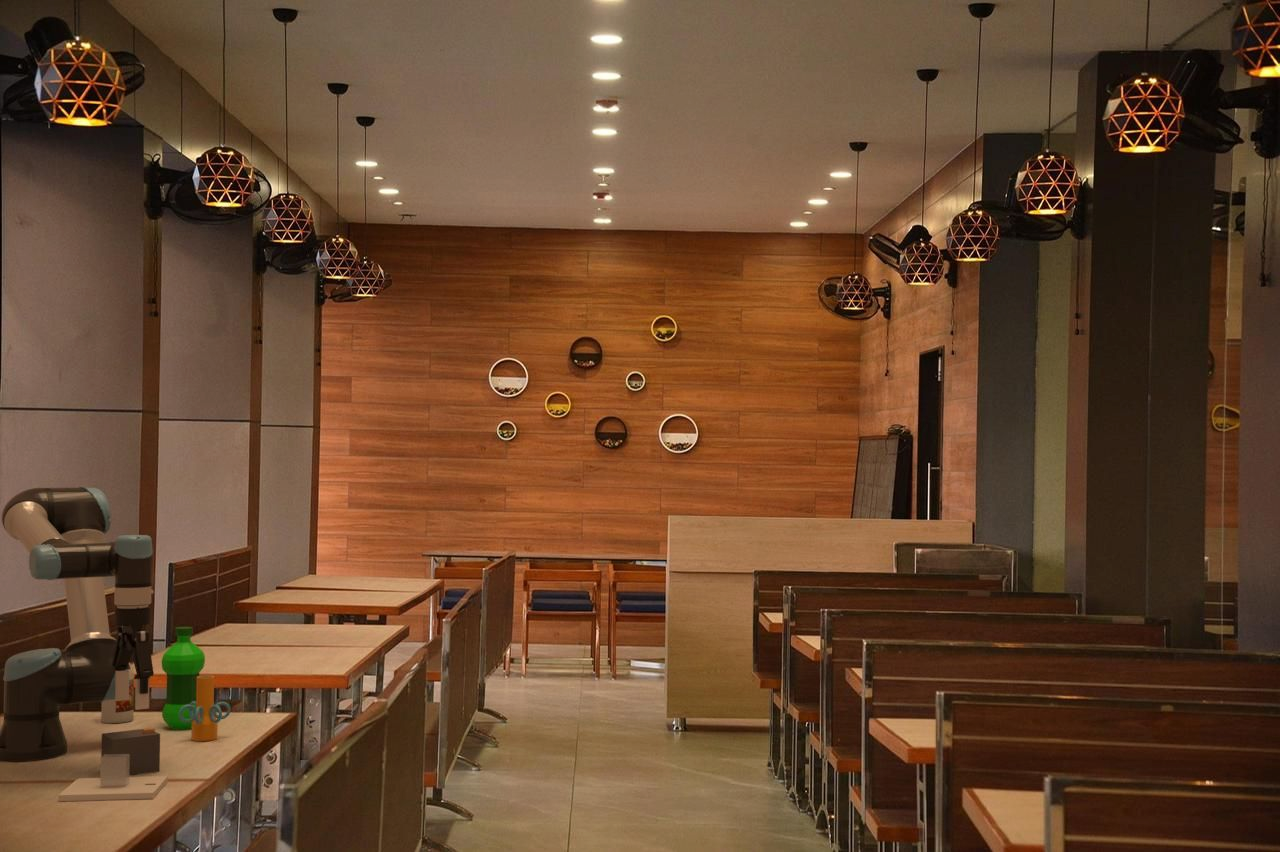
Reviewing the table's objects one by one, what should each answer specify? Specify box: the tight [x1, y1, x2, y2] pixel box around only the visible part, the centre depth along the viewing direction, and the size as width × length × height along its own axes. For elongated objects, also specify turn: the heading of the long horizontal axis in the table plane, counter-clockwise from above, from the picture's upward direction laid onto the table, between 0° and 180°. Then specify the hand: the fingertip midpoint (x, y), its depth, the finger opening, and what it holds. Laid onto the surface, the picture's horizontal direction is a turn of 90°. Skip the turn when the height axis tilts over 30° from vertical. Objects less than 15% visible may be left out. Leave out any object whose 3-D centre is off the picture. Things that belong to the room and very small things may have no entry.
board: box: [57, 754, 169, 802], centre depth 273 cm, size 18×14×7 cm
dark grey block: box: [100, 727, 161, 776], centre depth 290 cm, size 10×8×9 cm
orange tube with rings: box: [179, 675, 231, 742], centre depth 324 cm, size 12×10×15 cm
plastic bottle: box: [161, 626, 206, 730], centre depth 337 cm, size 10×10×25 cm
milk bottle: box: [100, 661, 135, 724], centre depth 345 cm, size 8×8×20 cm
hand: (131, 704), depth 290 cm, fingers open, 13 cm apart
